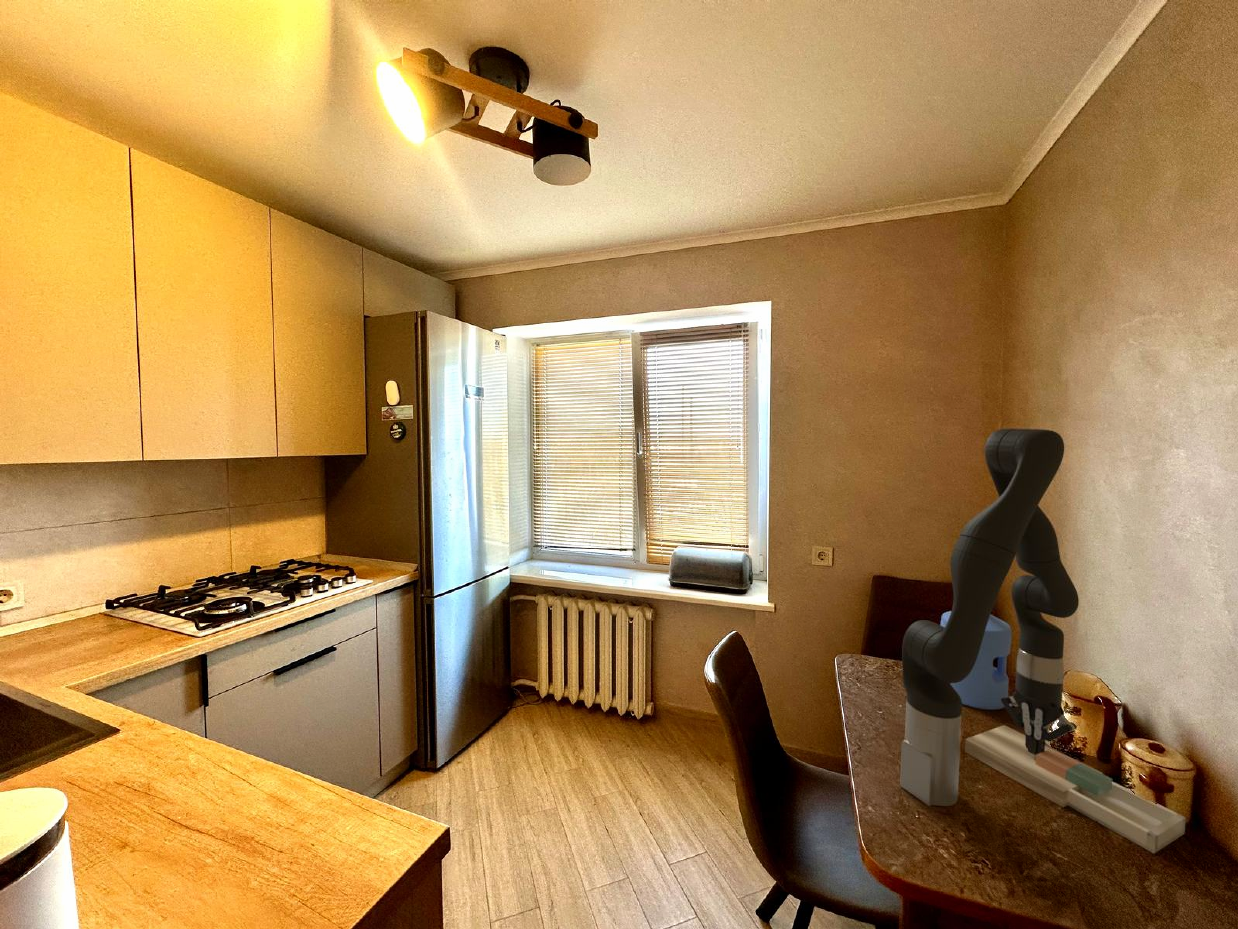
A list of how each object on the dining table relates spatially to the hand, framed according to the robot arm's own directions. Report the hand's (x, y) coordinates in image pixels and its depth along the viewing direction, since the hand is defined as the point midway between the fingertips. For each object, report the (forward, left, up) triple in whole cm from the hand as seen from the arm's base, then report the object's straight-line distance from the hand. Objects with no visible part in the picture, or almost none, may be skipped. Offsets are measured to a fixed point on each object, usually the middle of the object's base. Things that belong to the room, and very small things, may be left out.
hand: (1034, 753), depth 105 cm
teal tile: (0, -9, -1) cm, 9 cm away
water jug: (+20, +25, -4) cm, 32 cm away
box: (0, -14, -4) cm, 15 cm away
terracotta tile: (0, -4, -1) cm, 4 cm away
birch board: (0, +1, -4) cm, 4 cm away
